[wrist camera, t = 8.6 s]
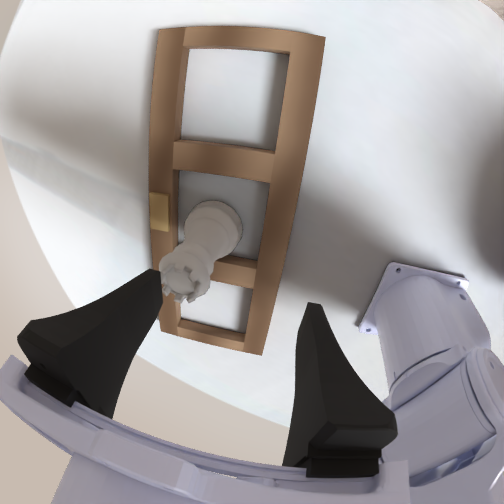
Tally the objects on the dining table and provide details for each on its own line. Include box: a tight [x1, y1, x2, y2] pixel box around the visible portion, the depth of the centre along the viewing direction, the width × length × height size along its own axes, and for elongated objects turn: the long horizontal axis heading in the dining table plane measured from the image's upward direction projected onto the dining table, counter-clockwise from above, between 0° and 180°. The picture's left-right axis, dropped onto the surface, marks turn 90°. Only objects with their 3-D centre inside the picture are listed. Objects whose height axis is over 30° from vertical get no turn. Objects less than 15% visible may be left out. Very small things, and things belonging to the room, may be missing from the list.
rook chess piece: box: [159, 200, 243, 303], centre depth 18 cm, size 4×4×8 cm
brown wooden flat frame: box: [149, 26, 326, 356], centre depth 21 cm, size 11×28×2 cm, turn 173°
